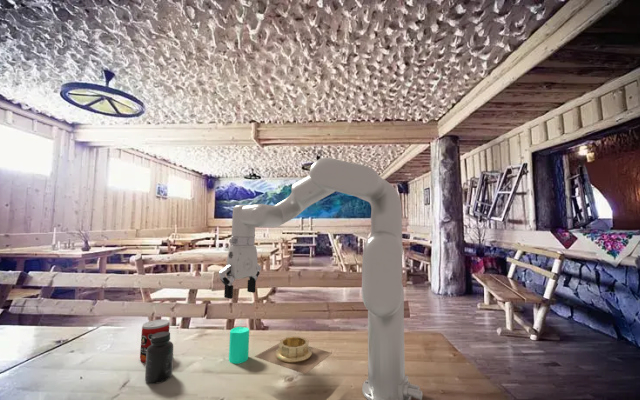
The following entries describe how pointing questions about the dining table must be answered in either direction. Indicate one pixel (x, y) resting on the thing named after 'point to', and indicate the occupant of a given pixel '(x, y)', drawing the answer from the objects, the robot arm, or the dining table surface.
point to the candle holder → (293, 350)
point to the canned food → (148, 331)
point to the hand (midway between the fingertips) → (240, 294)
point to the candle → (239, 345)
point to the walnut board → (299, 367)
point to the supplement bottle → (159, 358)
